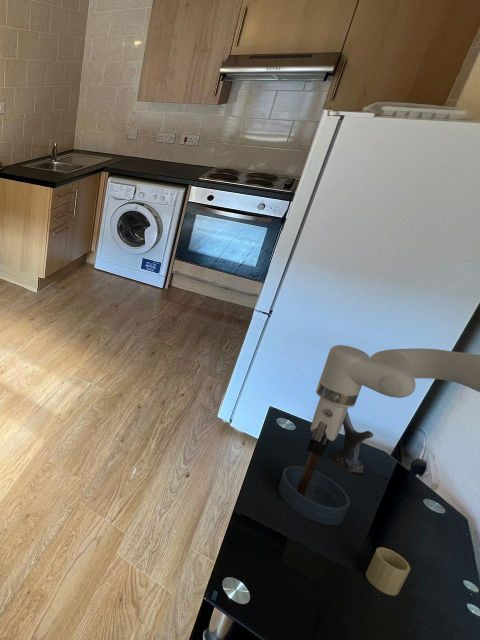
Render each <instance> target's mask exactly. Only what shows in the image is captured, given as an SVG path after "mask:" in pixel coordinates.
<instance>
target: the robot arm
mask: <svg viewBox="0 0 480 640" xmlns="http://www.w3.org/2000/svg"><path fill="white" fill-rule="evenodd" d="M416 379H431V380H440V381H441V380H442V381H447V382H452V383H456V384H459V385H462V386H465V387H467V388H469V389H472V390H474V391H475V392H477V393H480V354H475V353H467V352H461V351H453V350H452V351H451V350H446V349H438V348H437V349H436V348H423V347H422V348H417V347H415V348H394V349H393V348H392V349H391V348H390V349H384V350H379V351H377V352H375V353H373V354H372V355H371V356H370V355H368V353H366V351H363V350H361V349H359V348H356V347H353V346H350V345H343V344H338V345H334V346H332V347H331V348H330V349H329V352H328V355H327V357H326V361H325V363H324V366H323V369H322V372H321V375H320V378H319V381H318V384H317V387H316V390H315V393H316V395H317V396H318V397H319V400H318V403H317V405H316V408H315V411H314V415H313V418H312V421H311V424H310V429H309V430H310V432H312V437H310V439H309V442H308V444H307V445H308V446H307V448H306V451H308V452H309V453H310V452H311V453H313V454H315V455H317V456H319V458H322V457H323V455H324V453H326V451H327V448H328V445H329V443H330V441H331V442H333V441H335V440H336V439H337V438H338V435H339V433H340V431H341V430H342V427H343V421H344V418H345V416H346V413H347V412H348V409H349V408H354V407H355V405H356V403H357V400H358V398H359V395H360V392H361V389H362V386H363V387H366V388H367V389H370V390H371V391H374V392H376V393H378V394H381V395H383V396H386V397H389V398H394V399H395V398H396V399H403V398H407V397H409V396H411V395H412V394H413V393H414V392H415V390H416ZM323 437H324V438H323Z"/></svg>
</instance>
